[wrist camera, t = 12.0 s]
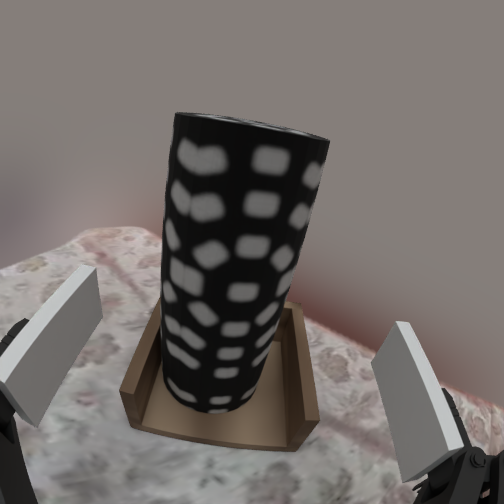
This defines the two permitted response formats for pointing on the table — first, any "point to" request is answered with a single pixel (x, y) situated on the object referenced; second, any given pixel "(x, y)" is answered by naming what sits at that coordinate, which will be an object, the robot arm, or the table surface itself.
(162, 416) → the tray
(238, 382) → the white-spotted black cylinder
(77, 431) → the table surface
